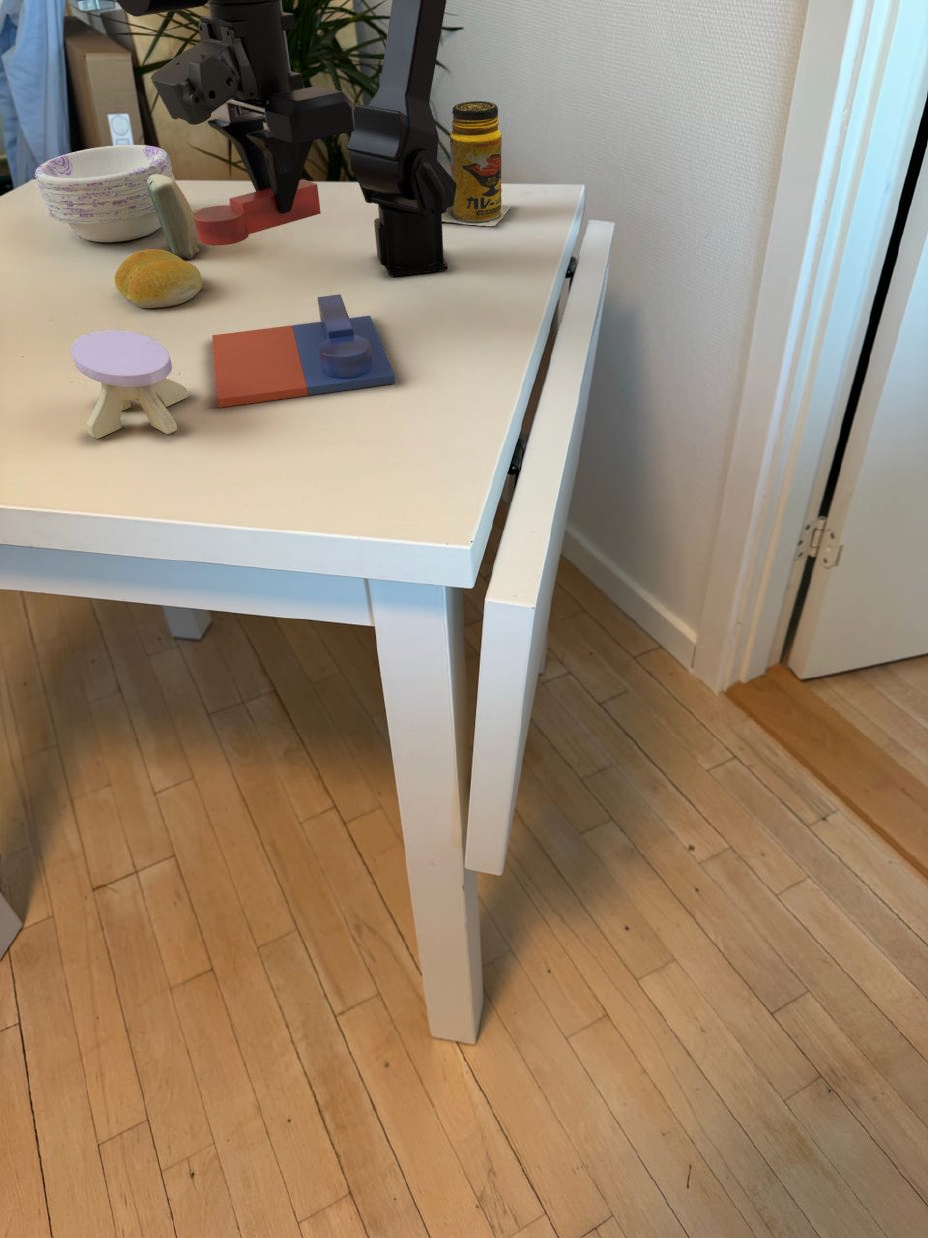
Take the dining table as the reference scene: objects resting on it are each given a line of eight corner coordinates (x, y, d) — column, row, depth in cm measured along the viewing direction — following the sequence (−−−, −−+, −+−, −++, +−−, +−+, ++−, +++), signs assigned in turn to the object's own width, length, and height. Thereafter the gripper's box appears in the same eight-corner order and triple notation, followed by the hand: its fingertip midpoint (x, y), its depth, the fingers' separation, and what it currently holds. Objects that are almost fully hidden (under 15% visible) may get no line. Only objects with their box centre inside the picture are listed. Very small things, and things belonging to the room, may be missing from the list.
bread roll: (146, 317, 87) (135, 277, 84) (109, 292, 92) (97, 253, 90) (220, 294, 91) (211, 255, 88) (180, 271, 96) (171, 233, 93)
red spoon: (300, 205, 83) (296, 176, 81) (328, 216, 81) (324, 185, 79) (188, 237, 77) (181, 205, 75) (215, 249, 75) (208, 217, 73)
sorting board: (370, 323, 85) (370, 315, 84) (395, 383, 75) (394, 374, 75) (213, 342, 82) (212, 334, 82) (218, 407, 73) (216, 399, 72)
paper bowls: (52, 221, 110) (29, 152, 105) (174, 203, 114) (158, 135, 109) (61, 261, 99) (36, 186, 94) (195, 239, 104) (178, 166, 98)
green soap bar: (145, 255, 100) (126, 180, 95) (179, 241, 103) (161, 167, 98) (181, 263, 98) (163, 187, 92) (214, 248, 101) (198, 174, 96)
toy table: (66, 411, 73) (42, 346, 69) (167, 378, 77) (150, 315, 73) (109, 459, 67) (86, 390, 63) (216, 420, 71) (200, 354, 67)
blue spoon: (309, 325, 83) (305, 297, 81) (355, 319, 84) (352, 292, 82) (325, 381, 74) (321, 352, 72) (376, 374, 75) (373, 346, 73)
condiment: (495, 227, 104) (495, 113, 96) (428, 221, 106) (422, 110, 98) (511, 208, 109) (512, 98, 101) (447, 203, 111) (443, 95, 103)
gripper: (94, 1, 70) (146, 208, 80) (218, 24, 60) (259, 257, 70) (215, -13, 75) (249, 181, 86) (348, 5, 65) (367, 224, 76)
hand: (276, 209), depth 79 cm, fingers closed on red spoon, 2 cm apart
